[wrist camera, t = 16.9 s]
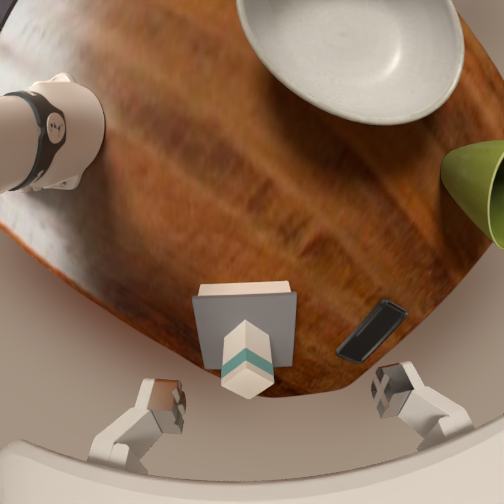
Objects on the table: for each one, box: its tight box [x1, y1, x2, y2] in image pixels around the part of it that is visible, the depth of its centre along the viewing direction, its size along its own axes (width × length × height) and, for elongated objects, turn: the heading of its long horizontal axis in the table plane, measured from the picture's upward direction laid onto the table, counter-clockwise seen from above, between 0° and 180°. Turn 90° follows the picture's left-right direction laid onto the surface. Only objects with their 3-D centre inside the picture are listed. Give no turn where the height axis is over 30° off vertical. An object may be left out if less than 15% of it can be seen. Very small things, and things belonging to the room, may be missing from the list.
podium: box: [192, 281, 297, 369], centre depth 48 cm, size 15×15×5 cm
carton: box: [221, 320, 274, 400], centre depth 41 cm, size 5×5×10 cm
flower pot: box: [441, 140, 504, 250], centre depth 32 cm, size 15×15×16 cm
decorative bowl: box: [236, 0, 464, 125], centre depth 26 cm, size 27×27×12 cm
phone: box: [336, 299, 407, 364], centre depth 53 cm, size 8×1×15 cm
